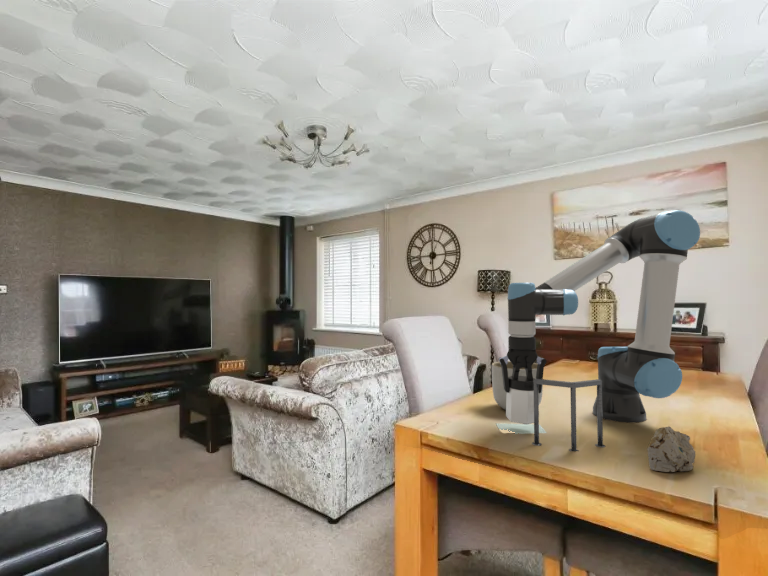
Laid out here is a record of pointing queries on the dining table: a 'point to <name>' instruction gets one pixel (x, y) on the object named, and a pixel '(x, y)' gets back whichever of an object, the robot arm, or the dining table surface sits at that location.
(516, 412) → the jar
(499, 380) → the planter
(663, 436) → the rock
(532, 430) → the pad
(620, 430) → the dining table surface
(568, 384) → the metal railing
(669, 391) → the robot arm
